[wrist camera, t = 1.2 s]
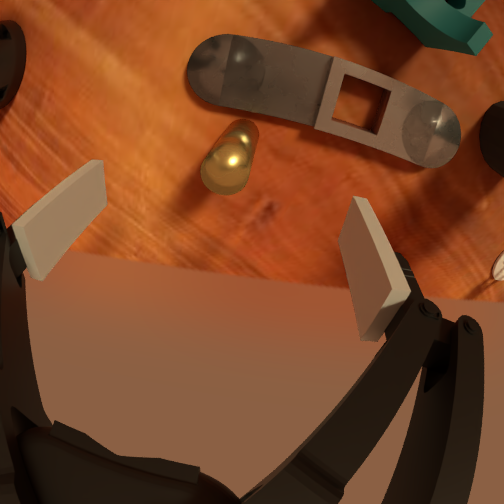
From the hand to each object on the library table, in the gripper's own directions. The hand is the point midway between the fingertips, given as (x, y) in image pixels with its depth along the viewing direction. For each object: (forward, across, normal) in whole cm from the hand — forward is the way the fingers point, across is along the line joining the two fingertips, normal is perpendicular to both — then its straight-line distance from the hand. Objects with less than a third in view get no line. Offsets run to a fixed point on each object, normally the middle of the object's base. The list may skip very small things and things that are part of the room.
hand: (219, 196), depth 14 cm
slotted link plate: (+19, +8, +5) cm, 21 cm away
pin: (+19, -1, -2) cm, 19 cm away
